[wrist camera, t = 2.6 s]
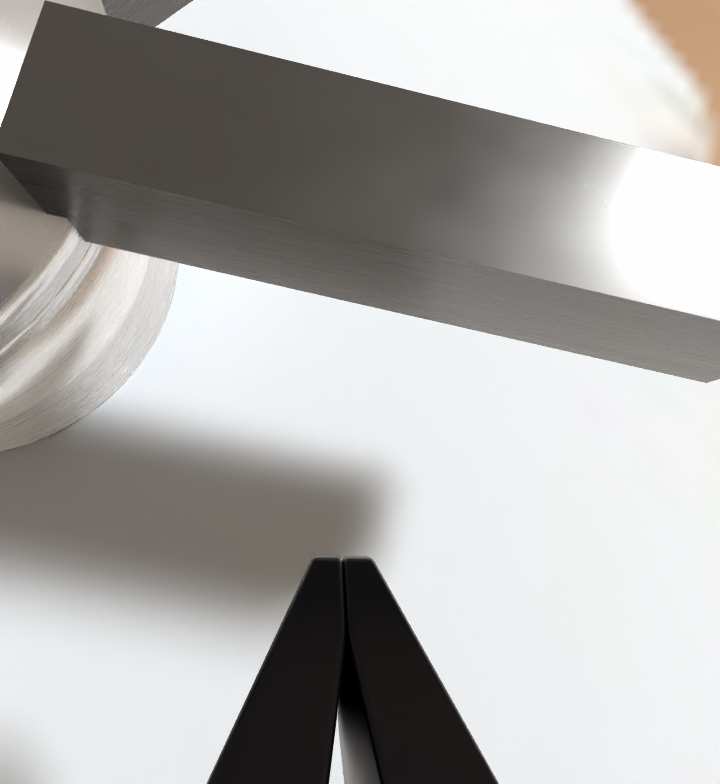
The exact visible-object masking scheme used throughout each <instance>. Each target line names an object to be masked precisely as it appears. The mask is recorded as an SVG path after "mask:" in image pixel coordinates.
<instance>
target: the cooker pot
mask: <svg viewBox="0 0 720 784" xmlns="http://www.w3.org/2000/svg"><path fill="white" fill-rule="evenodd" d="M191 1H193V0H102V3H103V5H104V8H105V11H106V13H107V16H111V17H115V18H119V19H123V20H127V21H131V22H135V23H139V24H143V25H147V26H151V27H156V26H157V25H159V24H160V23H161V22H163V21H164V20H166V19H167V18H169V17H170V16H171V15H173V14H174V13H176V12H177V11H178V10H180V9H181V8H183V7H184V6H186V5H187V4H188V3H190V2H191ZM177 270H178V263H177V262H173V261H168V260H164V259H160V258H155V257H151V256H146V255H142V254H138V253H133V252H129V251H124V250H120V249H116V248H111V247H107V246H102V245H98V244H94V243H91V244H90V246H89V247H88V249H87V251H86V253H85V255H84V256H83V258H82V260H81V262H80V264H79V265H78V266H77V268H76V269H75V270H74V272H73V273H72V274H71V276H70V277H69V278H68V280H67V281H66V282H65V284H64V285H63V286H62V288H61V289H60V290H59V292H58V293H57V295H56V296H55V297H54V299H53V300H52V301H51V302H50V303H49V304H48V305H47V306H46V307H45V308H44V309H43V310H42V311H41V312H40V313H39V314H38V315H37V316H36V317H35V318H34V319H33V320H32V321H31V323H30V324H29V325H28V326H27V327H26V328H25V329H24V330H23V331H22V332H21V333H19V334H18V335H17V336H16V337H15V338H13V339H12V340H11V341H10V342H8V343H7V344H6V345H5V346H4V347H2V348H1V349H0V452H2V451H6V450H10V449H13V448H17V447H20V446H24V445H27V444H30V443H33V442H35V441H38V440H40V439H42V438H45V437H47V436H50V435H52V434H55V433H57V432H58V431H60V430H62V429H64V428H66V427H67V426H69V425H71V424H73V423H74V422H76V421H78V420H80V419H82V418H83V417H84V416H86V415H87V414H88V413H90V412H91V411H92V410H94V409H95V408H97V407H98V406H99V405H101V404H102V403H103V402H105V401H106V400H107V399H108V398H109V397H110V396H111V395H112V394H113V393H114V392H115V391H116V390H117V389H118V388H119V387H121V386H122V385H123V384H124V383H125V382H126V380H127V379H128V378H129V377H130V376H131V374H132V373H133V372H134V371H135V369H136V368H137V367H138V366H139V365H140V363H141V362H142V361H143V359H144V358H145V356H146V354H147V353H148V351H149V350H150V348H151V346H152V345H153V343H154V342H155V340H156V338H157V336H158V334H159V332H160V329H161V327H162V325H163V323H164V321H165V319H166V316H167V313H168V310H169V307H170V304H171V300H172V297H173V294H174V289H175V283H176V277H177Z"/></svg>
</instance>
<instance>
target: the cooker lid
mask: <svg viewBox="0 0 720 784" xmlns="http://www.w3.org/2000/svg"><path fill="white" fill-rule="evenodd" d="M91 243H94V244H98V245H102V246H107V247H111V248H116V249H120V250H124V251H129V252H133V253H138V254H142V255H146V256H151V257H155V258H160V259H164V260H168V261H173V262H177V263H182V264H186V265H190V266H195V267H199V268H204V269H208V270H212V271H217V272H221V273H226V274H230V275H234V276H239V277H243V278H248V279H252V280H256V281H261V282H265V283H270V284H274V285H278V286H283V287H287V288H292V289H296V290H300V291H305V292H309V293H314V294H318V295H322V296H327V297H331V298H336V299H340V300H344V301H349V302H353V303H358V304H362V305H366V306H371V307H375V308H380V309H384V310H388V311H393V312H397V313H402V314H406V315H410V316H415V317H419V318H424V319H428V320H432V321H437V322H441V323H446V324H450V325H454V326H459V327H463V328H468V329H472V330H476V331H481V332H485V333H489V334H494V335H498V336H503V337H507V338H511V339H516V340H520V341H525V342H529V343H533V344H538V345H542V346H547V347H551V348H555V349H560V350H564V351H569V352H573V353H577V354H582V355H586V356H591V357H595V358H599V359H604V360H608V361H613V362H617V363H621V364H626V365H630V366H635V367H639V368H643V369H648V370H652V371H657V372H661V373H665V374H670V375H674V376H679V377H683V378H687V379H692V380H696V381H701V382H705V383H707V382H711V381H714V380H717V379H720V167H717V166H713V165H709V164H705V163H701V162H697V161H693V160H689V159H685V158H681V157H676V156H672V155H668V154H664V153H660V152H656V151H652V150H648V149H644V148H640V147H636V146H632V145H628V144H624V143H620V142H616V141H612V140H608V139H604V138H600V137H596V136H592V135H588V134H584V133H580V132H575V131H571V130H567V129H563V128H559V127H555V126H551V125H547V124H543V123H539V122H535V121H531V120H527V119H523V118H519V117H515V116H511V115H507V114H503V113H499V112H495V111H491V110H487V109H483V108H479V107H474V106H470V105H466V104H462V103H458V102H454V101H450V100H446V99H442V98H438V97H434V96H430V95H426V94H422V93H418V92H414V91H410V90H406V89H402V88H398V87H394V86H390V85H386V84H382V83H378V82H373V81H369V80H365V79H361V78H357V77H353V76H349V75H345V74H341V73H337V72H333V71H329V70H325V69H321V68H317V67H313V66H309V65H305V64H301V63H297V62H293V61H289V60H285V59H281V58H277V57H273V56H268V55H264V54H260V53H256V52H252V51H248V50H244V49H240V48H236V47H232V46H228V45H224V44H220V43H216V42H212V41H208V40H204V39H200V38H196V37H192V36H188V35H184V34H180V33H176V32H172V31H167V30H163V29H159V28H155V27H151V26H147V25H143V24H139V23H135V22H131V21H127V20H123V19H119V18H115V17H111V16H107V13H106V11H105V8H104V5H103V3H102V0H0V349H1V348H2V347H4V346H5V345H6V344H7V343H8V342H10V341H11V340H12V339H13V338H15V337H16V336H17V335H18V334H19V333H21V332H22V331H23V330H24V329H25V328H26V327H27V326H28V325H29V324H30V323H31V321H32V320H33V319H34V318H35V317H36V316H37V315H38V314H39V313H40V312H41V311H42V310H43V309H44V308H45V307H46V306H47V305H48V304H49V303H50V302H51V301H52V300H53V299H54V297H55V296H56V295H57V293H58V292H59V290H60V289H61V288H62V286H63V285H64V284H65V282H66V281H67V280H68V278H69V277H70V276H71V274H72V273H73V272H74V270H75V269H76V268H77V266H78V265H79V264H80V262H81V260H82V258H83V256H84V255H85V253H86V251H87V249H88V247H89V246H90V244H91Z"/></svg>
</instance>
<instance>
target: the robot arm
mask: <svg viewBox="0 0 720 784" xmlns="http://www.w3.org/2000/svg"><path fill="white" fill-rule="evenodd" d="M337 711H338V725H339V737H340V746H341V755H342V764H343V774H344V783H345V784H498V781H497V780H496V778H495V776H494V774H493V773H492V771H491V769H490V767H489V765H488V764H487V762H486V760H485V758H484V756H483V755H482V753H481V751H480V749H479V748H478V746H477V744H476V742H475V740H474V739H473V737H472V735H471V733H470V731H469V730H468V728H467V726H466V724H465V723H464V721H463V719H462V717H461V715H460V714H459V712H458V710H457V708H456V706H455V705H454V703H453V701H452V699H451V698H450V696H449V694H448V692H447V690H446V689H445V687H444V685H443V683H442V681H441V680H440V678H439V676H438V674H437V672H436V671H435V669H434V667H433V665H432V664H431V662H430V660H429V658H428V656H427V655H426V653H425V651H424V649H423V647H422V646H421V644H420V642H419V640H418V639H417V637H416V635H415V633H414V631H413V630H412V628H411V626H410V624H409V622H408V621H407V619H406V617H405V615H404V614H403V612H402V610H401V608H400V606H399V605H398V603H397V601H396V599H395V597H394V596H393V594H392V592H391V590H390V589H389V587H388V585H387V583H386V581H385V580H384V578H383V576H382V574H381V572H380V571H379V569H378V567H377V565H376V564H375V562H374V561H373V559H372V558H370V557H365V556H347V557H345V558H344V559H343V560H342V559H341V558H340V557H339V556H320V555H317V556H314V557H313V558H312V559H311V561H310V563H309V565H308V567H307V570H306V572H305V574H304V576H303V578H302V580H301V582H300V585H299V587H298V589H297V591H296V593H295V595H294V597H293V600H292V602H291V604H290V606H289V608H288V610H287V612H286V615H285V617H284V619H283V621H282V623H281V625H280V627H279V630H278V632H277V634H276V636H275V638H274V640H273V642H272V645H271V647H270V649H269V651H268V653H267V655H266V657H265V660H264V662H263V664H262V666H261V668H260V670H259V673H258V675H257V677H256V679H255V681H254V683H253V685H252V688H251V690H250V692H249V694H248V696H247V698H246V700H245V703H244V705H243V707H242V709H241V711H240V713H239V715H238V718H237V720H236V722H235V724H234V726H233V728H232V730H231V733H230V735H229V737H228V739H227V741H226V743H225V745H224V748H223V750H222V752H221V754H220V756H219V758H218V760H217V763H216V765H215V767H214V769H213V771H212V773H211V775H210V778H209V780H208V782H207V784H329V777H330V769H331V761H332V753H333V744H334V736H335V728H336V720H337Z"/></svg>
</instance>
